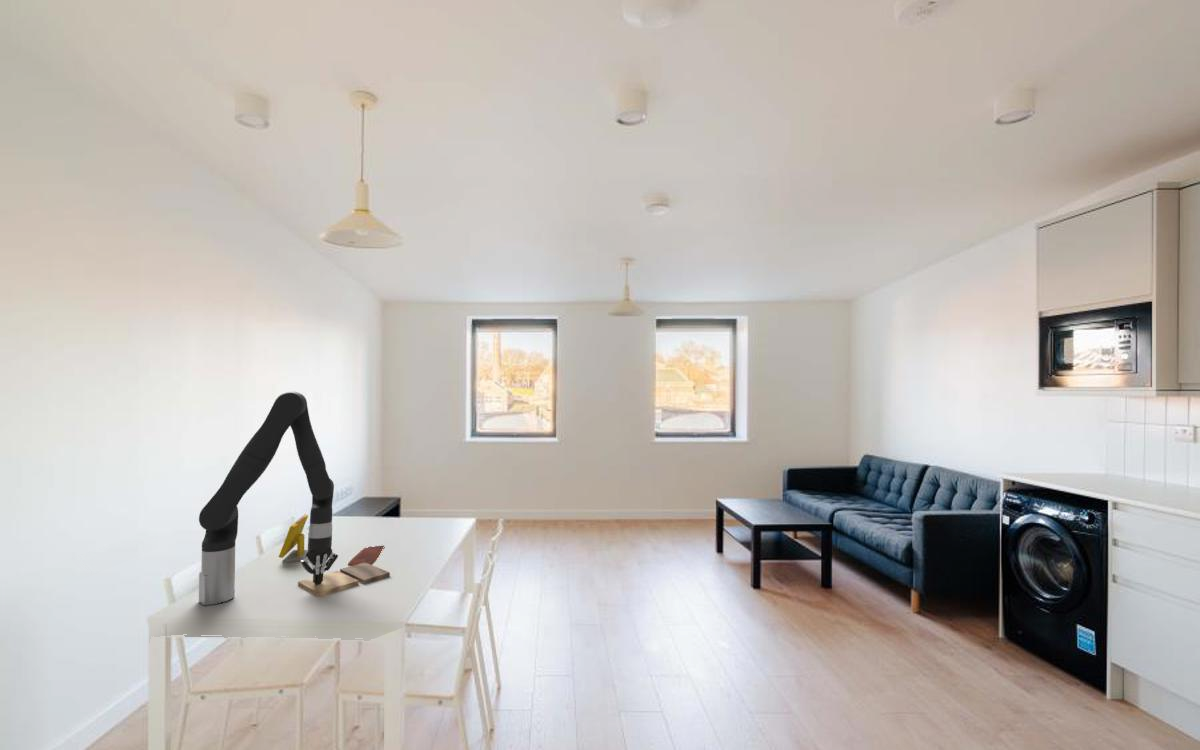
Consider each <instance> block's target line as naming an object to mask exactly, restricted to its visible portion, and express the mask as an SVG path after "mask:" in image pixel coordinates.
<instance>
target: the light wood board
mask: <svg viewBox="0 0 1200 750" xmlns="http://www.w3.org/2000/svg"><path fill="white" fill-rule="evenodd" d="M358 585H359V582H358V580H356V579H354V578H352V577H350V576H348V575H345V574H343V573H341V572H340V570H339V571H338V570H336V571H332V572H328V573H325V574H324V573H323V581H322V582H321V584H319V585H316V584H315V583H313V577H310V578H306V579H303V580H299V581H297V587H299V588H301V589H303V590H305V591H307V592H309V593H310V594H312V595H314V596H316V597H318V598H319V597H323V596H325V595H329V594H332V593H337V592H339V591H342V590H345V589H349V588H352V587H356V586H358Z"/></svg>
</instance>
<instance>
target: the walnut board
mask: <svg viewBox="0 0 1200 750" xmlns="http://www.w3.org/2000/svg"><path fill="white" fill-rule="evenodd" d="M339 572H341V573H343V574H345V575H348V576H350V577H352V578H354V579H356V580H358V583H359V584H362V585H366V584H370V583H374V582H376V581H380V580H383V579H387V578H389V577H390V576H391V575H390V571H387V570H384V569H382V568H379V567H378V566H375V565H374V564H372V565H370V564H368V563H366V562H365V563H361V564H357V565H354V566H346V567H343V568H340V569H339Z"/></svg>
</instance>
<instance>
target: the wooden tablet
mask: <svg viewBox="0 0 1200 750" xmlns="http://www.w3.org/2000/svg"><path fill="white" fill-rule="evenodd" d="M374 546H375V547H372V546H367V547H368V548H366V547H364V548H362V549H363V550H362V549H361V550H360V551H359V552H358V553H357V554H356V555H354V556H353V557H352V559H351V560H349V562H348V563H347V567H350V566H354V565H357V564H361V563H365V562H366V563H368V564H370V565H374V563H376V562H377V560H378V559H379V558H380V556H381V554H380V553H382V552H383V550H382V549H383V547H384V546H385V545H374ZM384 548H385V547H384ZM381 551H382V552H381ZM379 555H380V556H379ZM377 558H378V559H377Z"/></svg>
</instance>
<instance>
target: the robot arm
mask: <svg viewBox="0 0 1200 750" xmlns="http://www.w3.org/2000/svg"><path fill="white" fill-rule="evenodd" d="M310 419H311V418H310V414H309V407H308V401H307V399H306V397H305V395H303V394H302V393H300V392H298V391H286V392H284V393H281V394H280V395H278V396H277V397H276V399H275V401H274V402H273V405H271V408H270V410H269V412H268V414H267V416H266V417H265V420H264V421H263V423H262V424H261V426H260V427H259V428H258V429H257V430H256V432H255V433H254V435H253V436H252V437H251V438H250V440H249V441H248V443H247V444H246V445H245V446H244V448H243V449H242V451H241V452H240V454H239V455H238V457H237V458H236V460H235V462H234V464H233V465H232V466H231V468H230V470H229V472H228V474H227V475H226V477H225V479H224V480H223V482H222V483H221V485H220V487H219V488H218V490H217V491H216V492H215V493H214V494H213V496H212V497H211V498H210V499H209V500H208V501H207V503H206V504H205V506H203V508H202V509H201V511H200V513H199V516H198V522H199V526H201V527H202V528H203V530H205V534H204V538H203V540H202V541H201V542H202V543H201V564H200V565H201V566H200V567H201V570H200V572H199V574H198V602H199V603H200V602H201V603H200V604H201V605H203V606H204V605H206V606H210V605H211V606H212V605H217V604H218V603H219V604H222V603H221V602H223V603H226V602H229V601H231V600H233V599H234V598H235V595H236V594H235V593H236V592H235V591H236V589H235V588H236V587H235V585H236V583H235V581H236V541H237V540H236V539H237V536H238V528H239V527H238V525H239V509H238V504H239V503H240V501H241V500H242V499H243V496H244V495H245V494H246V493H247V492H248V490H250V489H251V487H252V486H254V484H255V483H256V482H257V481H258V480H259V478H260V477H261V476H262V475H263V473H265V471H266V469H267V468H268V467H269V465H270V463H271V462H272V461H273V459H274V457H275V455H276V453H277V451H278V449H279V446H280V444H281V441H282V439H283V437H284V435H285V434H286V432H287V430H289V428H291V430H292V433H293V437H294V442H295V446H296V447H295V448H296V452H297V457H298V458H299V459H298V460H299V461H300V463H301V467H302V469H303V471H304V473H305V476H306V481H307V484H308V488H309V490H310V494H311V495H312V496H311V508H310V513H309V514H310V515H309V526H308V532H307V536H308V537H307V538H308V539H307V550H308V552H307V554H306V557H305V558H304V559H303V560H300V561H298V564H300V565H301V566H302V568H303V569H304V570H306V572H307V573H309V574H311V575H313V576H312V578H313V583H315V584H316V585H319V584H321V582H322V581H323V575H324V573H325V572H326V571H329V570H330V568H332V566H333V565H334V563H335V562H336V560H337V559H338V557H339V554H338V553H334V552H333V549H332V544H333V541H332V540H333V500H334V493H335V491H334V490H335V484H334V481H333V480H332V479H331V478H330V476H329V474H328V471H327V468H326V467H327V466H326V465H327V464H326V462H325V458H324V456H323V453H322V451H321V447H320V446H319V443H318V440H317V438H316V436H315V433H314V430H313V426H312V424H311V420H310ZM309 562H310V563H311V566H310V565H309V564H310V563H309ZM233 597H234V598H233ZM232 598H233V599H232ZM230 599H231V600H230ZM228 600H229V601H228ZM225 601H226V602H225Z"/></svg>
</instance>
